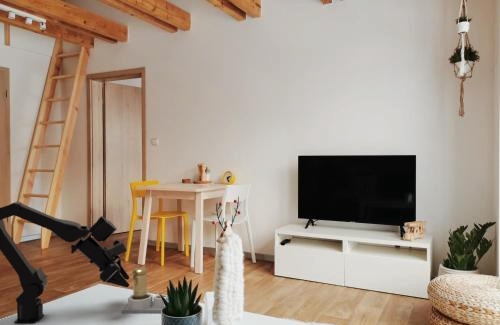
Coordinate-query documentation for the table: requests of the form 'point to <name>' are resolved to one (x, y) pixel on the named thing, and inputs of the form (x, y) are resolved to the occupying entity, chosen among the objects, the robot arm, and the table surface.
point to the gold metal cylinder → (139, 283)
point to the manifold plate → (148, 310)
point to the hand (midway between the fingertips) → (128, 282)
